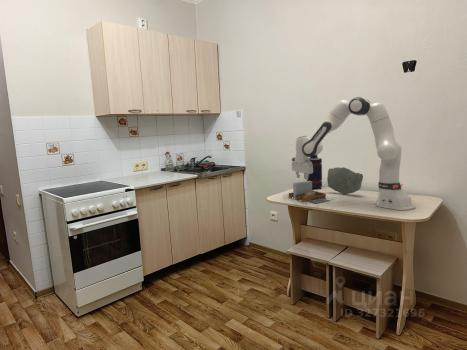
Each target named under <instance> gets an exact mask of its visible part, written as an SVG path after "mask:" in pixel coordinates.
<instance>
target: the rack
mask: <svg viewBox="0 0 467 350" xmlns="http://www.w3.org/2000/svg"><path fill="white" fill-rule="evenodd" d="M312 192H315V196H312V197H306V198H302V195H305V193H304V194H298V195H295V199H294V200H295V201H299V200H301V203H306V202H309V201H314V200H320V199H327V196H326V195H327V194H326V193H325V192H321V191H317V190H314V189H312ZM292 197H293V191H292V192H288V199H293V198H292Z"/></svg>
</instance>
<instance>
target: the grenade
mask: <svg viewBox="0 0 467 350" xmlns="http://www.w3.org/2000/svg"><path fill="white" fill-rule="evenodd" d="M318 155H319V154H317V155H314V156H312V157H309V160H310V161H311V162H312V165H313V173H312V174H309V176H308V180H306V181H312V189H318V190H320V189H322V187H323V164H322V163H323V160H322V159H323V158H320V157H318ZM303 174H304V175H303V179H305V177H306V173H303Z"/></svg>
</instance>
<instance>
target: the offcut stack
mask: <svg viewBox="0 0 467 350" xmlns="http://www.w3.org/2000/svg"><path fill="white" fill-rule="evenodd" d="M312 196H315V192H308V193H305V195H302V198H306V197H312Z"/></svg>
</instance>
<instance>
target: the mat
mask: <svg viewBox="0 0 467 350" xmlns="http://www.w3.org/2000/svg"><path fill="white" fill-rule="evenodd" d="M308 202H309V203H311V204H314V205H315V204H316V205H317V204H323V203H329V202H331V200H330V199H327V198H325V199H319V200H313V201H308Z"/></svg>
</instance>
